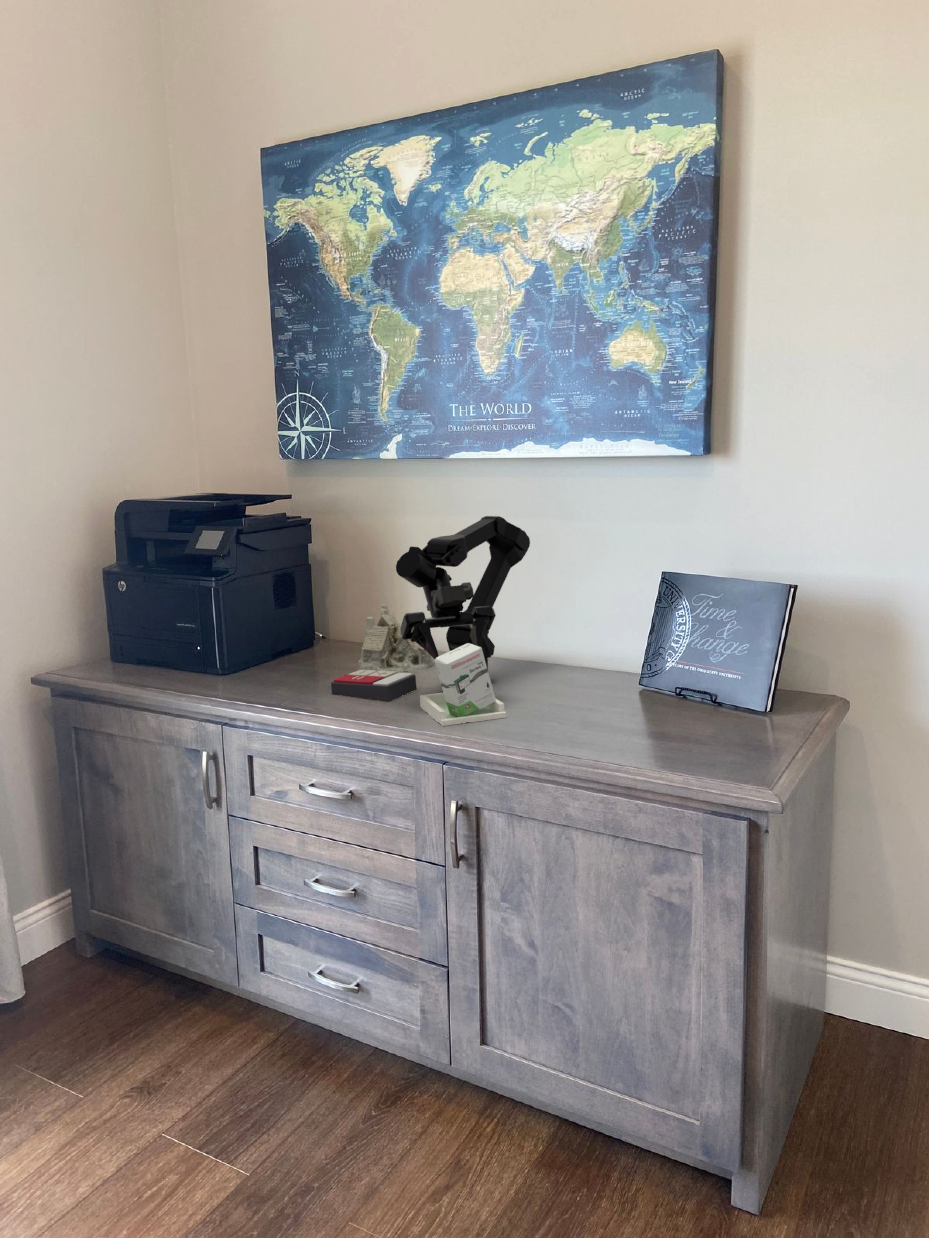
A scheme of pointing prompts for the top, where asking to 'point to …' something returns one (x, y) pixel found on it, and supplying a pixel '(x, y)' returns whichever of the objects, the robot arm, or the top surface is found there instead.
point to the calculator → (374, 685)
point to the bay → (440, 712)
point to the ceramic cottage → (390, 647)
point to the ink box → (465, 680)
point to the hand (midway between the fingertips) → (458, 657)
